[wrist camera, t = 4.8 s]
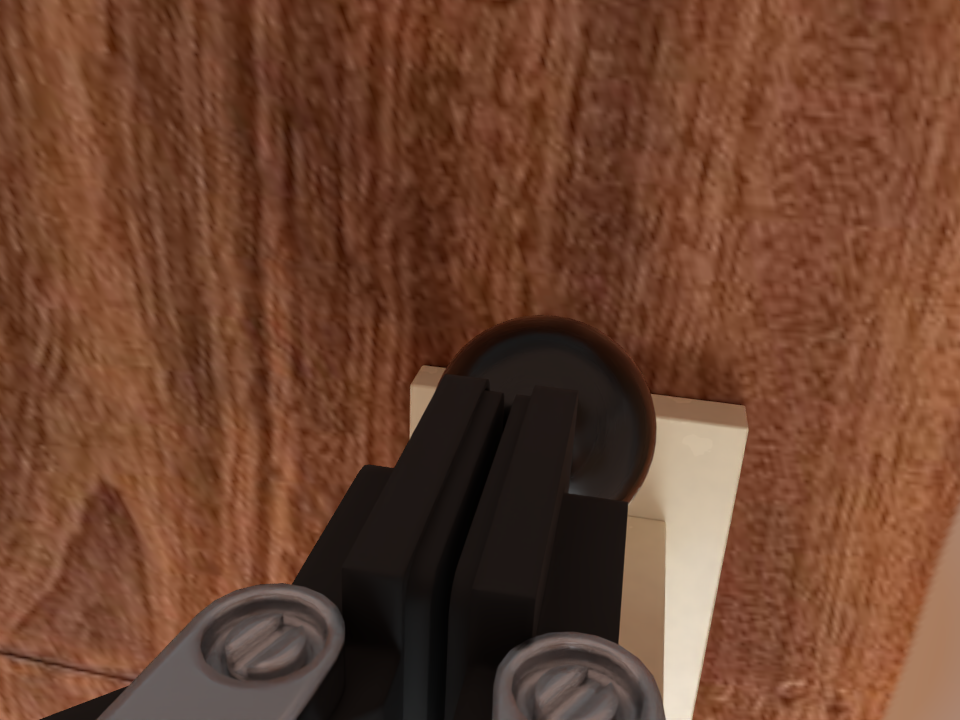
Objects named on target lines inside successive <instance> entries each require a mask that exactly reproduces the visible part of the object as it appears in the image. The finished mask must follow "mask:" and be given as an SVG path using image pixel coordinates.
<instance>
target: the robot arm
mask: <svg viewBox="0 0 960 720" xmlns="http://www.w3.org/2000/svg"><path fill="white" fill-rule="evenodd" d="M578 392H579V391H577V390H569V389H561V388H553V387H546V386H538V385H535V386H534V389H533V392H532V395H531V396H525V395H518V394H516V396H515V399H514V402H513V405H512V408H511V411H510V414H509V416H508V419H507V422H506V425H505V428H504V431H503V416H504V393H502V392H494V391H490V383H489V379H482V378H474V377H466V376H458V375H450V374H445V375H444V376H443V378H442V379H441V381H440V383H439V385H438V387H437V389H436V391H435V393H434V394H433V396H432V398H431V400H430V402H429V404H428V406H427V408H426V410H425V411H424V413H423V415H422V417H421V419H420V421H419V423H418V425H417V426H416V428H415V430H414V432H413V434H412V436H411V438H410V440H409V441H408V443H407V445H406V447H405V449H404V451H403V453H402V455H401V456H400V458H399V460H398V462H397V464H396V466H395V468H389V467H382V466H375V465H365V466H363V468H362V469H361V470H360V471H359V473H358V474H357V476H356V478H355V479H354V481H353V483H352V485H351V486H350V488H349V490H348V491H347V493H346V495H345V496H344V498H343V500H342V501H341V503H340V505H339V506H338V508H337V510H336V511H335V513H334V515H333V516H332V518H331V520H330V521H329V523H328V525H327V526H326V528H325V530H324V531H323V533H322V535H321V536H320V538H319V540H318V541H317V543H316V545H315V546H314V548H313V550H312V552H311V553H310V555H309V557H308V558H307V560H306V562H305V563H304V565H303V567H302V568H301V570H300V572H299V573H298V575H297V577H296V578H295V580H294V582H293V583H292V585H290V584H284V583H280V584H260V585H255V586H251V587H247V588H243V589H239V590H236V591H234V592H232V593H229V594H227V595H225V596H223V597H221V598H219V599H217V600H215V601H214V602H212V603H211V604H210V605H208V606H207V607H206V608H205V609H203V610H202V611H201V612H200V613H198V614H197V615H196V616H195V617H194V618H193V619H192V621H191V622H190V623H189V624H188V625H187V626H186V627H185V628H184V629H183V630H182V631H181V632H180V633H179V634H178V635H177V636H176V637H175V638H174V639H173V640H172V641H171V642H170V643H169V644H168V645H167V647H166V648H165V649H164V650H163V651H162V652H161V653H160V654H159V655H158V656H157V657H156V658H155V659H154V660H153V661H152V662H151V663H150V664H149V665H148V666H147V667H146V668H145V669H144V670H143V671H142V673H141V674H140V675H139V676H138V677H137V678H136V679H135V680H134V681H133V682H132V683H131V684H130V685H129V686H127V687H124V688H121V689H119V690H116V691H113V692H111V693H108V694H106V695H103V696H100V697H98V698H95V699H92V700H90V701H87V702H85V703H82V704H79V705H77V706H74V707H71V708H69V709H66V710H64V711H61V712H58V713H56V714H53V715H50V716H48V717H45V718H43V719H40V720H666V718H665V712H664V707H663V702H662V697H661V693H660V691H659V688H658V686H657V683H656V681H655V678H654V676H653V675H652V673H651V672H650V671H649V670H648V669H647V667H646V666H645V665H644V664H643V663H642V661H641V660H640V659H639V658H638V657H636V656H635V655H633V654H632V653H630V652H629V651H628V650H626V649H625V648H623V647H622V646H620V645H619V630H620V616H621V601H622V587H623V573H624V559H625V544H626V530H627V516H628V502H626V501H619V500H612V499H605V498H598V497H591V496H584V495H577V494H570V493H569V483H570V473H571V464H572V454H573V445H574V435H575V425H576V416H577V406H578ZM502 432H503V434H502Z"/></svg>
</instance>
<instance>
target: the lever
mask: <svg viewBox="0 0 960 720" xmlns="http://www.w3.org/2000/svg"><path fill="white" fill-rule="evenodd" d="M445 374H450V375H458V376H466V377H474V378H482V379H489V383H490V391H494V392H502V393H504V416H503V431H504V428H505V425H506V422H507V419H508V416H509V414H510V411H511V408H512V405H513V402H514V399H515V396H516V394H518V395H525V396H531V395H532V392H533V389H534V386H535V385H538V386H546V387H553V388H561V389H569V390H577V391H579V392H578V406H577V416H576V425H575V435H574V445H573V454H572V464H571V473H570V483H569V493H570V494H577V495H584V496H591V497H598V498H605V499H612V500H619V501H626V502H628V505H629V503H630V502H631V501H632V500H633V499H634V497H635V496H636V494H637V493H638V491H639V490H640V488H641V487H642V485H643V483H644V481H645V479H646V477H647V475H648V473H649V470H650V467H651V464H652V461H653V457H654V452H655V446H656V434H657V425H656V413H655V408H654V404H653V399H652V396H651V393H650V391H649V388H648V385H647V383H646V381H645V379H644V377H643V375H642V373H641V371H640V369H639V368H638V367H637V365H636V364H635V362H634V361H633V359H632V358H631V357H630V356H629V355H628V354H627V352H626V351H625V350H624V349H623V348H622V347H621V346H620V345H619V344H617V343H616V342H615V341H614V340H613V339H611V338H610V337H609V336H607V335H606V334H604V333H603V332H601V331H599V330H598V329H596V328H594V327H592V326H590V325H587V324H585V323H583V322H580V321H576V320H573V319H570V318H565V317H559V316H549V315H535V316H525V317H520V318H516V319H511V320H508V321H506V322H503V323H500V324H497V325H495V326H493V327H491V328H489V329H487V330H485V331H484V332H482V333H481V334H479V335H478V336H476V337H475V338H473V339H472V340H471V341H470V342H468V343H467V344H466V345H465V346H464V347H463V348H462V349H461V350H460V351H459V352H458V353H457V354H456V356H455V357H454V358H453V359H452V360H451V362H450V363H449V365H448V366H447V368H446V369H445V371H444V373H443V375H442V377H441V379H442V378H443V376H444V375H445ZM441 379H440V381H441ZM440 381H439V383H440ZM439 383H438V385H439ZM438 385H437V387H438ZM436 389H437V388H436ZM435 391H436V390H435ZM502 434H503V432H502Z"/></svg>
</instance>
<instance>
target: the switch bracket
mask: <svg viewBox="0 0 960 720" xmlns="http://www.w3.org/2000/svg"><path fill="white" fill-rule="evenodd" d="M445 369H446V368H441V367H433V366H425V365H424V366H422V367H421V368H420V370H419V372H418V373H417V375H416V377H415V378H414V380H413V382H412V383H411V385H410V438H411V436H412V434H413V432H414V430H415V428H416V426H417V425H418V423H419V421H420V419H421V417H422V415H423V413H424V411H425V410H426V408H427V406H428V404H429V402H430V400H431V398H432V396H433V394H434V393H435V390H436V388H437V385H438V383H439V381H440V379H441V377H442V375H443V373H444V371H445ZM651 396H652V399H653V404H654V408H655V413H656V425H657V434H656V446H655V452H654V457H653V461H652V464H651V467H650V470H649V473H648V475H647V477H646V479H645V481H644V483H643V485H642V487H641V488H640V490H639V491H638V493H637V494H636V496H635V497H634V499H633V500H632V501H631V502H630V503H629V505H628V516H627V530H626V544H625V559H624V573H623V587H622V601H621V616H620V630H619V645H620V646H622V647H623V648H625V649H626V650H628V651H629V652H630V653H632V654H633V655H635V656H636V657H638V658H639V659H640V660H641V661H642V663H643V664H644V665H645V666H646V667H647V669H648V670H649V671H650V672H651V673H652V675H653V676H654V678H655V681H656V683H657V686H658V688H659V691H660V693H661V697H662V702H663V707H664V712H665V718H666V720H692V718H693V713H694V708H695V702H696V697H697V692H698V687H699V682H700V677H701V672H702V667H703V662H704V656H705V651H706V646H707V641H708V636H709V631H710V626H711V621H712V615H713V610H714V605H715V600H716V595H717V590H718V585H719V580H720V574H721V569H722V564H723V559H724V554H725V549H726V544H727V539H728V533H729V528H730V523H731V518H732V513H733V508H734V503H735V498H736V492H737V487H738V482H739V477H740V472H741V467H742V462H743V457H744V451H745V446H746V441H747V436H748V431H749V428H748V422H747V415H746V409H745V406H743V405H736V404H728V403H720V402H712V401H704V400H696V399H688V398H680V397H672V396H664V395H656V394H651Z"/></svg>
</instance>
